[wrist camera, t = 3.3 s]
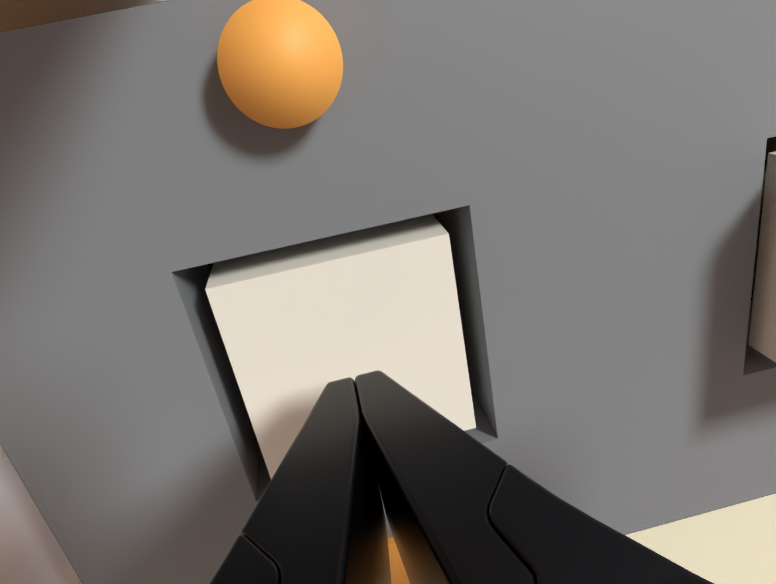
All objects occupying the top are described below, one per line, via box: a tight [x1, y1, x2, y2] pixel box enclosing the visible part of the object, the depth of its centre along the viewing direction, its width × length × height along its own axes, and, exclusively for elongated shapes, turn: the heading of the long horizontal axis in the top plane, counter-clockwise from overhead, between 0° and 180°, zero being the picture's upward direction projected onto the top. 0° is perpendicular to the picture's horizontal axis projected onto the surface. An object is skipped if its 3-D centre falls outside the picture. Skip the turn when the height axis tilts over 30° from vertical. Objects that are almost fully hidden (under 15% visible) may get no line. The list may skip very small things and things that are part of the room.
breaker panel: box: [0, 0, 776, 584], centre depth 11 cm, size 12×22×3 cm, turn 100°
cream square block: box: [205, 214, 476, 479], centre depth 11 cm, size 4×4×2 cm
